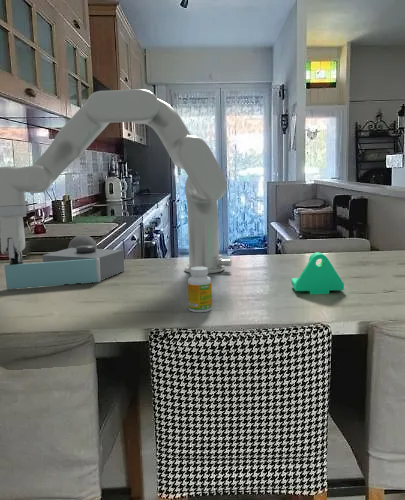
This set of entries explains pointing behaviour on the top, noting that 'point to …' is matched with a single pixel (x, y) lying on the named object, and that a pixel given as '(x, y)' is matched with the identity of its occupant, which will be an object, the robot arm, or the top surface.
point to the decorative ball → (81, 241)
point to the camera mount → (318, 277)
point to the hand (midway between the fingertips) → (17, 276)
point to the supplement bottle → (199, 290)
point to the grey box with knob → (108, 258)
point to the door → (52, 273)
